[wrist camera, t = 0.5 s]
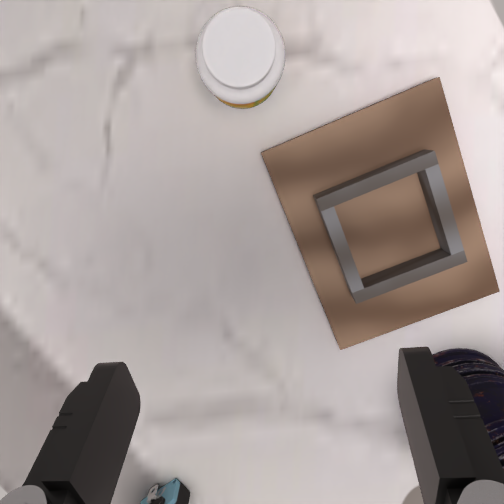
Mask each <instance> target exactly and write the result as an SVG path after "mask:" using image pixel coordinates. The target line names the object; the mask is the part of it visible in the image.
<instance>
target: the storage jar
mask: <svg viewBox="0 0 504 504" xmlns="http://www.w3.org/2000/svg"><path fill="white" fill-rule="evenodd" d="M432 356H433V359H434V362H435V365H436V367H438V366H452V367H453V368H454V369H455V370H456V371H457V372H458V373H459V374H460V375H461V376H462V377H463V378H464V379H465V380H466V382H467V384H468V386H469V389H470V391H471V394H472V396H473V398H474V403H476V406H477V408H478V410H479V413H480V417H481V418H482V420H483V422H484V425H485V427H486V429H487V432H488V434H489V437H490V439H491V441H492V444H493V446H494V449H495V451H496V453H497V456H498V458H499V461H500V463H501V465H502V468H503V470H504V370H503V369H501V368H500V367H499V365H498V364H497V363H496V362H495V361H493V360H492V359H491V358H490V357H488V356H487V355H485V354H483V353H481V352H478V351H475V350H470V349H459V348H458V349H449V350H445V351H441V352H438V353H436V354H433V355H432Z"/></svg>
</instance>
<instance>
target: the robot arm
mask: <svg viewBox="0 0 504 504" xmlns="http://www.w3.org/2000/svg"><path fill="white" fill-rule="evenodd" d="M397 390H398V399H399V404H400V409H401V413H402V417H403V421H404V425H405V429H406V433H407V437H408V441H409V445H410V449H411V453H412V457H413V461H414V465H415V469H416V473H417V477H418V481H419V485H420V489H421V493H422V497H423V501H424V504H504V470H503V468H502V465H501V463H500V461H499V458H498V456H497V453H496V451H495V449H494V446H493V444H492V441H491V439H490V437H489V434H488V432H487V429H486V427H485V425H484V422H483V420H482V418H481V417H480V413H479V410H478V408H477V406H476V403H474V398H473V396H472V394H471V391H470V389H469V386H468V384H467V382H466V380H465V379H464V378H463V377H462V376H461V375H460V374H459V373H458V372H457V371H456V370H455V369H454V368H453V367H452V366H438V367H436V365H435V362H434V359H433V356H432V354H431V351H430V349H429V348H428V347H415V348H400V349H399V360H398V378H397ZM139 412H140V395H139V392H138V390H137V388H136V386H135V383H134V381H133V379H132V377H131V374H130V372H129V370H128V368H127V366H126V364H125V363H124V362H111V363H98V364H97V365H96V366H95V367H94V369H93V371H92V373H91V375H90V378H89V380H88V382H80V383H79V385H78V386H77V387H76V388H75V389H74V390H73V391H72V392H71V393H70V394H69V395H68V396H67V398H66V400H65V402H64V404H63V406H62V408H61V410H60V412H59V416H57V418H56V420H55V422H54V424H53V426H52V427H53V429H52V430H50V432H49V434H48V436H47V438H46V440H45V442H44V444H43V446H42V448H41V450H40V452H39V454H38V456H37V459H36V461H35V463H34V465H33V467H32V469H31V471H30V473H29V475H28V477H27V479H26V480H25V482H24V484H23V485H22V487H19V488H17V489H15V490H13V491H11V492H10V493H8V494H7V495H6V496H5V497H3V498H2V499H1V500H0V504H110V503H111V500H112V497H113V494H114V491H115V488H116V485H117V481H118V478H119V475H120V472H121V469H122V466H123V463H124V460H125V457H126V454H127V450H128V447H129V444H130V441H131V438H132V435H133V432H134V429H135V426H136V422H137V419H138V416H139Z"/></svg>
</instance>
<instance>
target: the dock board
mask: <svg viewBox="0 0 504 504" xmlns="http://www.w3.org/2000/svg"><path fill="white" fill-rule="evenodd" d="M261 154H262V157H263V159H264V162H265V164H266V167H267V169H268V172H269V174H270V177H271V179H272V182H273V184H274V186H275V189H276V191H277V194H278V196H279V199H280V201H281V204H282V206H283V209H284V211H285V214H286V216H287V219H288V221H289V224H290V226H291V229H292V231H293V234H294V236H295V239H296V241H297V244H298V246H299V249H300V251H301V253H302V256H303V258H304V261H305V263H306V266H307V268H308V271H309V273H310V276H311V278H312V281H313V283H314V286H315V288H316V291H317V293H318V296H319V298H320V301H321V303H322V306H323V308H324V311H325V313H326V315H327V318H328V320H329V323H330V325H331V328H332V330H333V333H334V335H335V338H336V340H337V343H338V345H339V348H340V350H342V349H345V348H348V347H350V346H353V345H356V344H358V343H361V342H364V341H367V340H369V339H372V338H375V337H377V336H380V335H383V334H385V333H388V332H391V331H394V330H396V329H399V328H402V327H404V326H407V325H410V324H413V323H415V322H418V321H421V320H423V319H426V318H429V317H432V316H434V315H437V314H440V313H442V312H445V311H448V310H450V309H453V308H456V307H459V306H461V305H464V304H467V303H469V302H472V301H475V300H478V299H480V298H483V297H486V296H488V295H491V294H494V293H497V292H499V288H498V284H497V280H496V277H495V273H494V270H493V266H492V263H491V259H490V255H489V252H488V248H487V245H486V241H485V238H484V234H483V231H482V227H481V223H480V220H479V216H478V213H477V209H476V206H475V202H474V198H473V195H472V191H471V188H470V184H469V181H468V177H467V173H466V170H465V166H464V163H463V159H462V156H461V152H460V148H459V145H458V141H457V138H456V134H455V131H454V127H453V123H452V120H451V116H450V113H449V109H448V106H447V102H446V99H445V95H444V91H443V88H442V84H441V81H440V77H438V78H434V79H432V80H429V81H427V82H425V83H422V84H420V85H418V86H415V87H413V88H411V89H408V90H406V91H404V92H401V93H399V94H397V95H394V96H392V97H390V98H387V99H385V100H383V101H380V102H378V103H376V104H373V105H371V106H369V107H366V108H364V109H362V110H359V111H357V112H355V113H352V114H350V115H348V116H345V117H343V118H341V119H338V120H336V121H334V122H331V123H329V124H326V125H324V126H322V127H319V128H317V129H315V130H312V131H310V132H308V133H305V134H303V135H301V136H298V137H296V138H294V139H291V140H289V141H287V142H284V143H282V144H280V145H277V146H275V147H273V148H270V149H268V150H266V151H263V152H261Z"/></svg>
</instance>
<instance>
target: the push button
mask: <svg viewBox="0 0 504 504" xmlns="http://www.w3.org/2000/svg"><path fill="white" fill-rule="evenodd" d="M153 489H155V490H154V492H153V493H151V492H152V490H153ZM157 489H158V485H155V486H154V487H152V488H151V489H150V490H149V494H148V496H147V497H146V498H144V499H143V500H142V501H141V503H140V504H188V503H189V497H190V492H189V491H188V490H187V489H186V488H185V487H184V486H183V485H182V484H181V483H180V482H179V481H178V480H177V479H176V478H175V479H174V480H172V481H171V482H169V483H168V484H166V485H165V486H163V487H161V488H160V489H158V490H157Z"/></svg>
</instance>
